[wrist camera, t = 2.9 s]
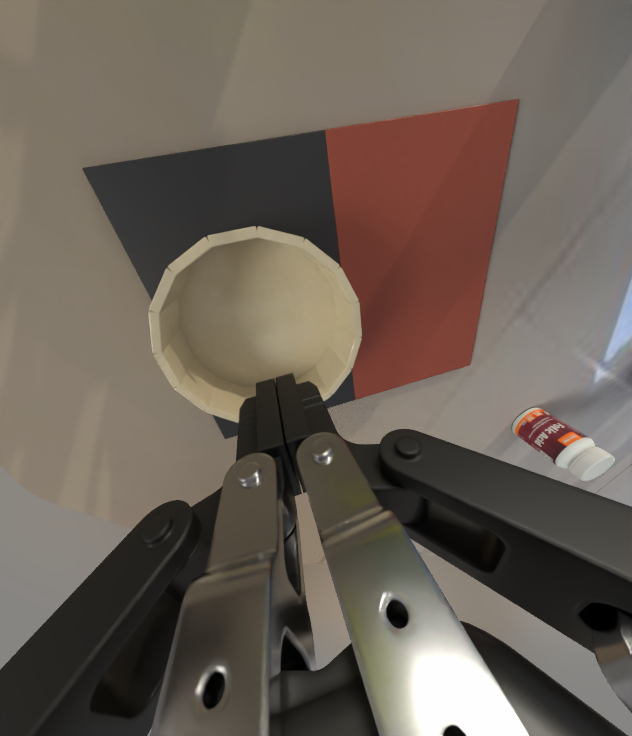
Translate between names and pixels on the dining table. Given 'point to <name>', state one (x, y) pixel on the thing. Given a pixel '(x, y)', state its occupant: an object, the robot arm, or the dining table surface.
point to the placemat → (344, 223)
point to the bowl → (253, 318)
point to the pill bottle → (562, 444)
